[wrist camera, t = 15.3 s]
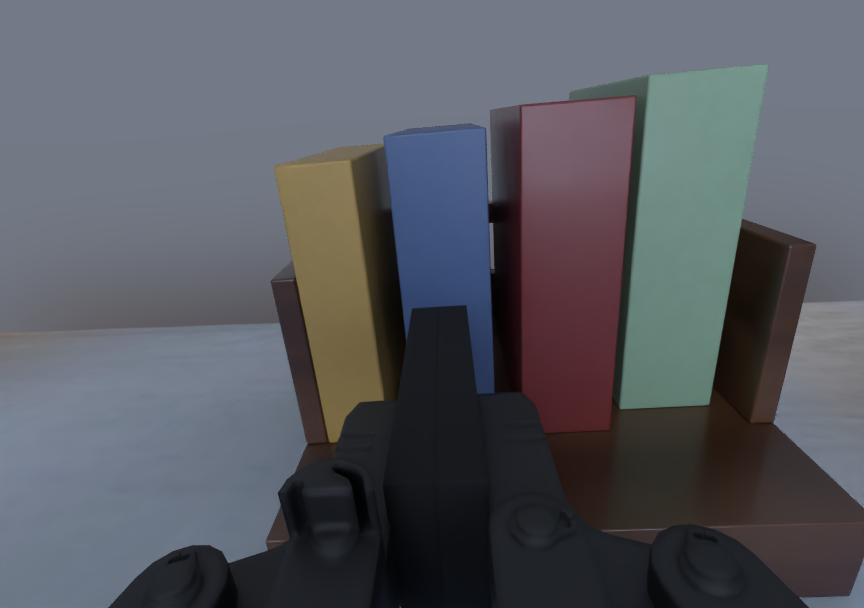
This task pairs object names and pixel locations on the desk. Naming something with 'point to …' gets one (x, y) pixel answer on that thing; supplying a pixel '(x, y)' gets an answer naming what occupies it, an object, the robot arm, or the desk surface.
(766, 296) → the book rack
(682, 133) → the sage book
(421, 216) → the blue book
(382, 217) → the shelf books
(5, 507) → the desk surface
